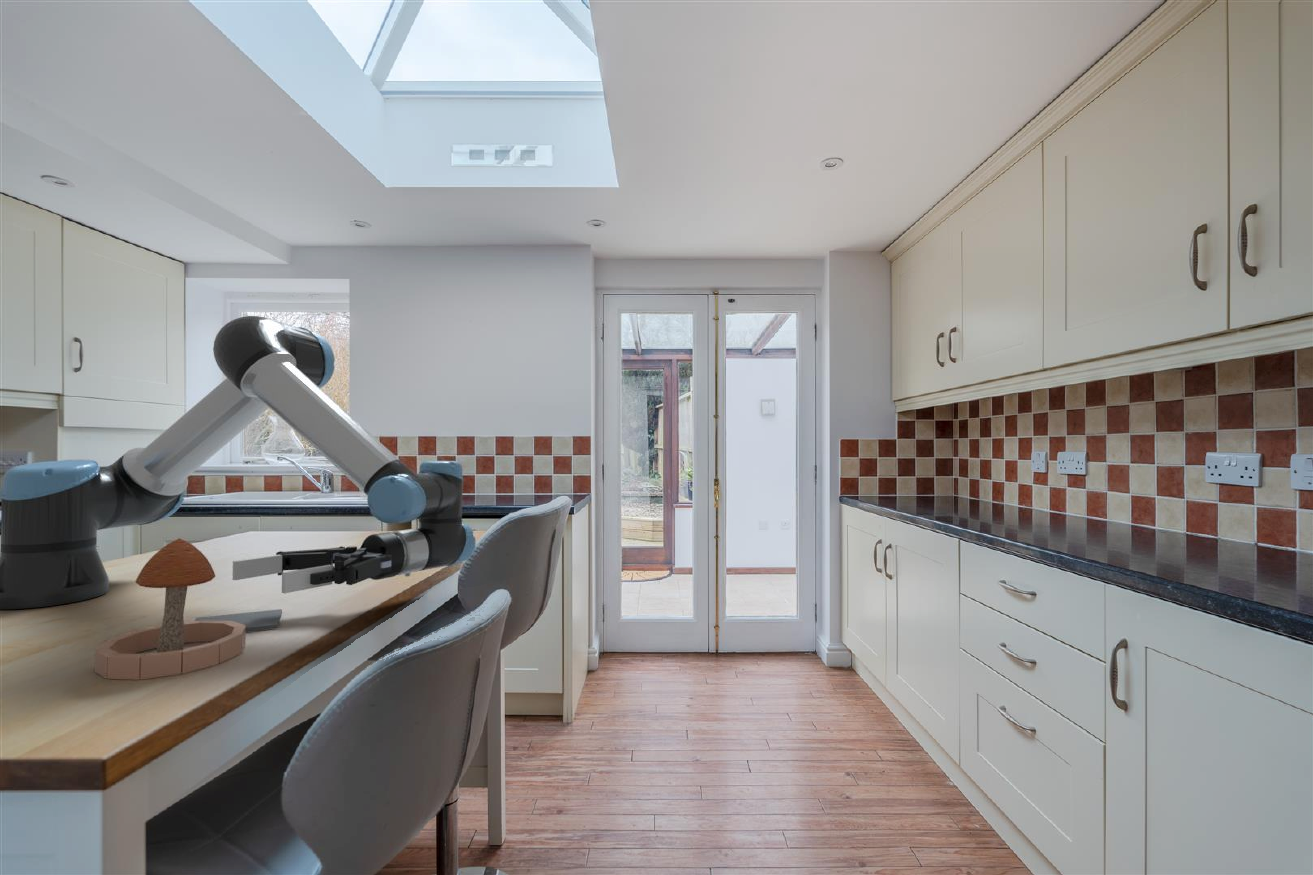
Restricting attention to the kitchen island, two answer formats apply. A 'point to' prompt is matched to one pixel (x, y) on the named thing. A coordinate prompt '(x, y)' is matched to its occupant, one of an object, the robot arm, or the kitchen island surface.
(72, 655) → the kitchen island surface
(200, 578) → the mushroom
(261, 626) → the mat
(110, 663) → the ring
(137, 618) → the kitchen island surface
